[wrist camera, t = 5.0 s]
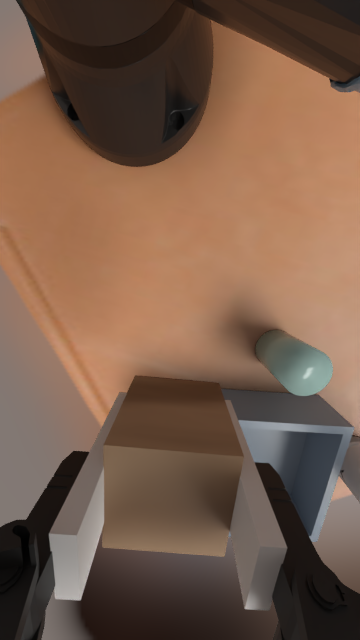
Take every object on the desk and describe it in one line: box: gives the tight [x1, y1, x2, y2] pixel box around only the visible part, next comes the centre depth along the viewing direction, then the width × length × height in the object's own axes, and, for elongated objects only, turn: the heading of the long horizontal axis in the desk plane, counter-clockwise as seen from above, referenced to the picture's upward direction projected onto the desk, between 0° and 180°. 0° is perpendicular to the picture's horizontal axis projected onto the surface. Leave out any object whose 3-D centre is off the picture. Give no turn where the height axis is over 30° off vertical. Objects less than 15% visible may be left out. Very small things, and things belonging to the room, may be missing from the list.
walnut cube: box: [102, 376, 244, 557], centre depth 10 cm, size 5×5×5 cm
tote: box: [221, 389, 355, 542], centre depth 27 cm, size 18×21×6 cm
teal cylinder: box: [255, 330, 333, 396], centre depth 23 cm, size 5×5×7 cm
